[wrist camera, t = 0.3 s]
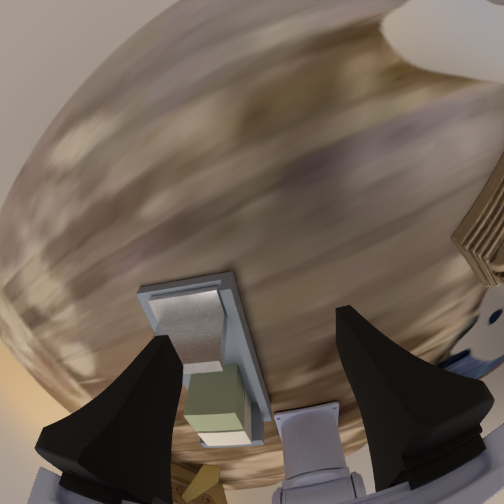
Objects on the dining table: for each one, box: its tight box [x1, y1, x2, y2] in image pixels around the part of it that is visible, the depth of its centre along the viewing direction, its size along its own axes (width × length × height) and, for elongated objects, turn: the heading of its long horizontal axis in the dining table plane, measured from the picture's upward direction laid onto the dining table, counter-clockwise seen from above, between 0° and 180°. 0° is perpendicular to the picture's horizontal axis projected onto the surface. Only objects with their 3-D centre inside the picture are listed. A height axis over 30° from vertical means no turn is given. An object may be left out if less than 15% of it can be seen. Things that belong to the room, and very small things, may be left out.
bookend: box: [148, 286, 228, 374], centre depth 19 cm, size 3×6×6 cm, turn 102°
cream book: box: [197, 386, 252, 446], centre depth 24 cm, size 3×4×6 cm
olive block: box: [184, 364, 244, 431], centre depth 22 cm, size 3×4×6 cm
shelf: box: [136, 271, 272, 448], centre depth 22 cm, size 18×8×6 cm, turn 12°
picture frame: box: [171, 463, 227, 504], centre depth 32 cm, size 23×9×15 cm, turn 33°
